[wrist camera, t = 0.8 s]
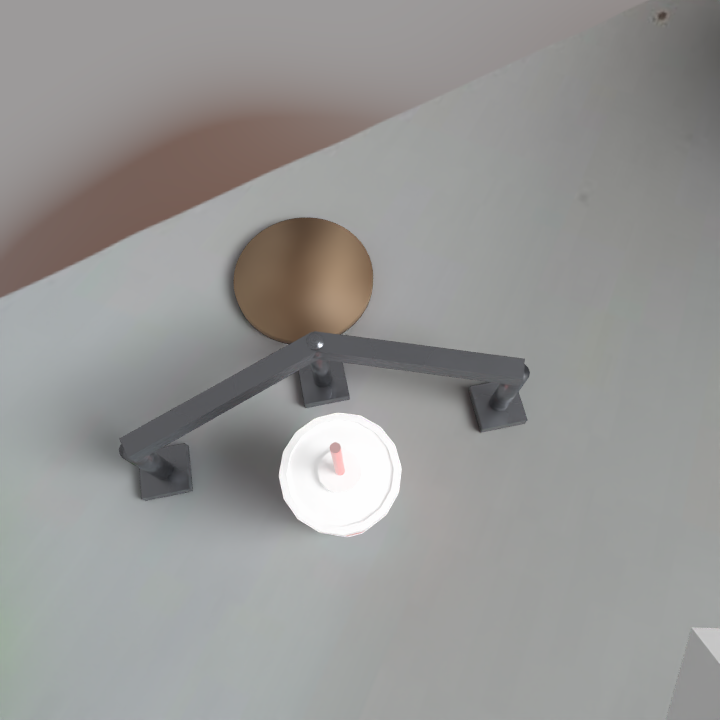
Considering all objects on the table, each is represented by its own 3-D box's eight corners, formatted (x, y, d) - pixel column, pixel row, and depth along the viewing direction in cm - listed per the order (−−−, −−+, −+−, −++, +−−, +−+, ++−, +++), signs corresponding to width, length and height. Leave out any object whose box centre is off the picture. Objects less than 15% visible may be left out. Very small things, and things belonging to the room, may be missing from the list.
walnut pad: (357, 213, 46) (357, 207, 46) (386, 330, 43) (386, 325, 42) (228, 236, 46) (225, 230, 45) (245, 356, 42) (243, 352, 41)
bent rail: (494, 329, 43) (519, 276, 36) (524, 423, 40) (556, 386, 33) (138, 398, 41) (92, 357, 34) (145, 500, 39) (97, 478, 32)
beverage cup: (278, 503, 38) (231, 453, 25) (343, 433, 40) (331, 352, 27) (349, 571, 37) (339, 555, 24) (414, 495, 39) (437, 441, 26)
